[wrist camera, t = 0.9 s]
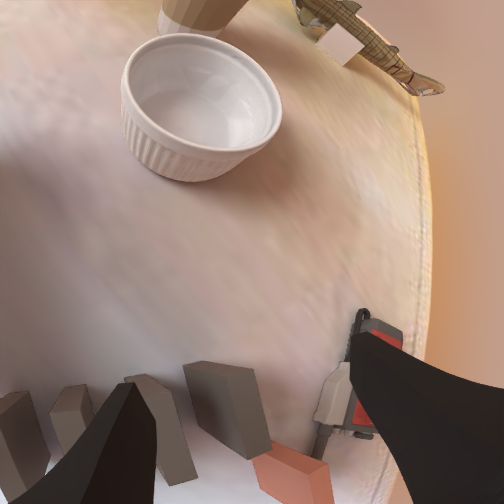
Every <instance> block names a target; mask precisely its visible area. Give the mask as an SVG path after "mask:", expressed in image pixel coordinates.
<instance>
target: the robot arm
mask: <svg viewBox="0 0 504 504" xmlns="http://www.w3.org/2000/svg"><path fill="white" fill-rule="evenodd" d="M349 380H350V382H351V384H352V387H353V389H354V391H355V393H356V395H357V398H358V400H359V402H360V404H361V405H362V407H363V409H364V410H365V412H366V413H367V415H368V416H369V418H370V420H371V421H372V423H373V424H374V426H375V428H376V429H377V431H378V432H379V434H380V435H381V437H382V439H383V440H384V442H385V443H386V445H387V446H388V448H389V450H390V452H391V453H392V455H393V457H394V459H395V461H396V463H397V465H398V468H399V470H400V472H401V474H402V476H403V479H404V481H405V483H406V486H407V488H408V491H409V493H410V496H411V498H412V501H413V504H504V389H502V388H497V387H492V386H488V385H483V384H480V383H476V382H472V381H469V380H466V379H463V378H460V377H457V376H455V375H452V374H449V373H447V372H444V371H442V370H440V369H438V368H435V367H433V366H431V365H429V364H427V363H425V362H423V361H421V360H419V359H417V358H415V357H413V356H411V355H409V354H407V353H405V352H404V351H402V350H400V349H398V348H396V347H395V346H393V345H391V344H389V343H388V342H386V341H384V340H382V339H381V338H379V337H377V336H375V335H374V334H372V333H370V332H368V331H365V332H362V333H359V334H356V335H352V336H351V343H350V375H349ZM156 456H157V430H156V420H155V418H154V416H153V415H152V413H151V411H150V409H149V408H148V406H147V404H146V402H145V400H144V399H143V397H142V395H141V393H140V391H139V389H138V387H137V386H136V384H135V382H130V383H121V384H118V385H117V386H116V388H115V389H114V390H113V392H112V393H111V394H110V396H109V397H108V399H107V400H106V402H105V403H104V404H103V406H102V407H101V409H100V410H99V412H98V413H97V414H96V416H95V417H94V419H93V420H92V421H91V423H90V424H89V426H88V427H87V428H86V430H85V431H84V432H83V433H82V435H81V436H80V437H79V439H78V440H77V441H76V442H75V444H74V445H73V446H72V448H71V449H70V450H69V451H68V452H67V453H66V455H65V456H64V457H63V458H62V459H61V460H60V461H59V462H58V463H57V464H56V465H55V466H54V467H53V468H52V469H51V470H50V471H49V472H48V473H47V474H46V475H45V476H44V477H43V478H42V479H40V480H39V481H38V482H37V483H36V484H35V485H34V486H32V487H31V488H30V489H29V490H27V491H26V492H25V493H23V494H22V495H21V496H19V497H18V498H16V499H15V500H13V501H12V502H10V503H8V504H153V499H154V483H155V469H156Z"/></svg>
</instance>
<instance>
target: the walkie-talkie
mask: <svg viewBox="0 0 504 504" xmlns="http://www.w3.org/2000/svg"><path fill="white" fill-rule="evenodd" d="M363 314H364V320H362V315H363ZM365 331H368V332H370V333H372V334H374V335H375V336H377V337H379V338H381V339H382V340H384V341H386V342H388V343H389V344H391V345H393V346H395V347H396V348H398V349H400V350H402V345H403V334H402V331H400V330H399V329H397V328H395V327H393V326H391V325H389V324H387V323H385V322H383V321H381V320H379V319H375V318H374V319H370V312H369V311H368V310H367V309H366V308H363V309H359V310H358V312H357V314H356V318H355V323H354V324H352V329H351V334H350V339H349V340H348V341H349V344H348V345H347V346H348V348H347V350H346V351H347V353H346V355H345V356H346V357H345V360H344V362H340V366H339V367H338V368H337V369H336V370H335V371H334V372H333V373H332V374H331V375H330V376H329V377H328V378H327V379H326V380H325V383H324V387H323V390H322V394H321V398H320V401H319V405H318V408H317V411H316V412H315V414H314V418H313V420H316V421H320V425H319V428H318V432H317V434H318V436H317V439H316V443H315V446H314V449H313V452H312V455H311V458H314V459H317V460H319V461H321V459H322V456H323V453H324V450H325V447H326V444H327V440H328V437H330V436H331V433H337V434H339V433H340V430H342V429H344V431H345V435H347V436H353V433H354V432H355V431H357V432H355V434H354V437H356V438H361V439H368V440H372V439H373V437H374V436H373V434H372V433H379V432H378V431H377V429H376V428H375V426H374V424H373V423H372V421H371V420H370V418H369V416H368V415H367V413H366V412H365V410H364V409H363V407H362V405H361V404H360V402H359V400H358V398H357V395H356V393H355V391H354V389H353V387H352V384H351V382H350V380H349V375H350V343H351V336H352V335H356V334H359V333H362V332H365Z"/></svg>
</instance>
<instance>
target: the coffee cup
mask: <svg viewBox="0 0 504 504" xmlns="http://www.w3.org/2000/svg"><path fill="white" fill-rule="evenodd" d="M247 1H248V0H163V3H162V6H161V10H160V14H159V19H158V33H159V35H160V36H163V35H167V34H176V33H189V34H198V35H203V36H208V37H212V38H216V37H217V36H218V35H219V33H220V32H221V31H222V30H223V29H224V27H225V26H226V25H227V24H228V23H229V22H230V20H231V19H232V18H233V17H234V16H235V15H236V14H237V12H238V11H239V10H240V9H241V8H242V7H243V6H244V5H245V4H246V2H247Z"/></svg>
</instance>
